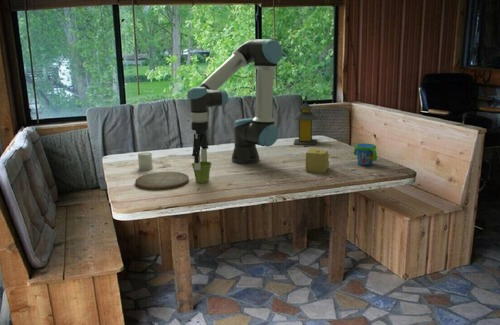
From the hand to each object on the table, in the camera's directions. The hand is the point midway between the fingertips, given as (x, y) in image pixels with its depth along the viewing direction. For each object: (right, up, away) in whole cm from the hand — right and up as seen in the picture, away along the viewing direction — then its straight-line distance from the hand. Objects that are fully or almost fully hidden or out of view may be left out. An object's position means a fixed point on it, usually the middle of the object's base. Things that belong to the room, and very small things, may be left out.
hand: (200, 165), depth 222 cm
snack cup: (+83, 0, +26) cm, 88 cm away
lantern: (+58, +14, +78) cm, 99 cm away
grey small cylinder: (-32, -2, +26) cm, 41 cm away
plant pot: (0, -8, +2) cm, 8 cm away
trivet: (-19, -8, +3) cm, 21 cm away
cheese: (+57, -2, +18) cm, 60 cm away
